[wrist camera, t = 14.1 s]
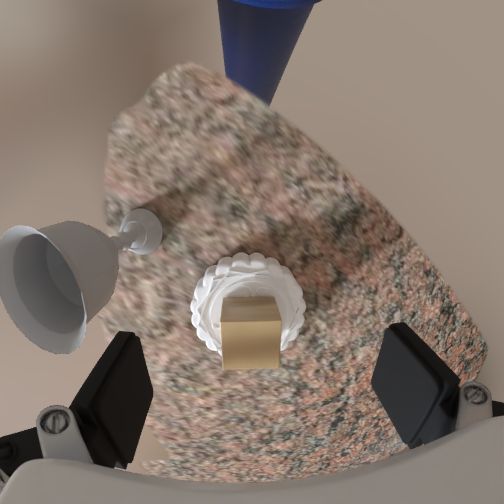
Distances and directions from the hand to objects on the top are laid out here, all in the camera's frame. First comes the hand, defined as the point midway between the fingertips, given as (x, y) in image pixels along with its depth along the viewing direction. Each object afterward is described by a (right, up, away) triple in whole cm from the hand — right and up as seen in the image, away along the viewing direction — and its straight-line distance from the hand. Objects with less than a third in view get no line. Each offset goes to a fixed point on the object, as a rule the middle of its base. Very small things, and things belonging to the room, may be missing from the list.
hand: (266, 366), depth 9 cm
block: (-1, -3, +17) cm, 18 cm away
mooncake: (-1, -2, +21) cm, 21 cm away
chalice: (-13, +6, +19) cm, 23 cm away
